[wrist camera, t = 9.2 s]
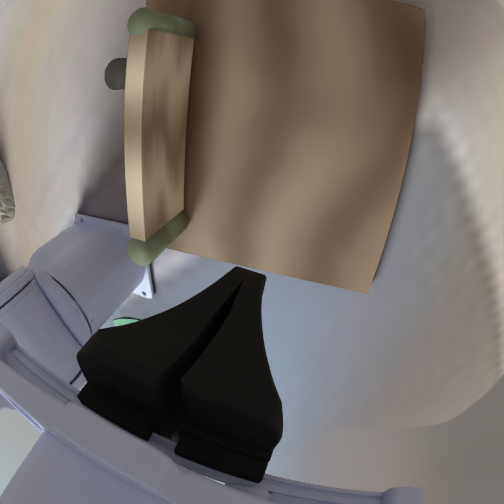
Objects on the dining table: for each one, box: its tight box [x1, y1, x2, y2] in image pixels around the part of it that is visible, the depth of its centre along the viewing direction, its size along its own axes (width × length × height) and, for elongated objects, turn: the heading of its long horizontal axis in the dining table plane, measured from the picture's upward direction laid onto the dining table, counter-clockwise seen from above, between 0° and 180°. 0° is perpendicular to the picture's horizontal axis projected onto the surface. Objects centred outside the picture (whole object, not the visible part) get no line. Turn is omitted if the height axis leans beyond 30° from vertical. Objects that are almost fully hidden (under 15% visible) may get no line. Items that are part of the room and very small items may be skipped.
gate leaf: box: [124, 8, 198, 266], centre depth 16 cm, size 16×2×5 cm, turn 174°
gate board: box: [105, 0, 425, 293], centre depth 16 cm, size 18×20×5 cm
